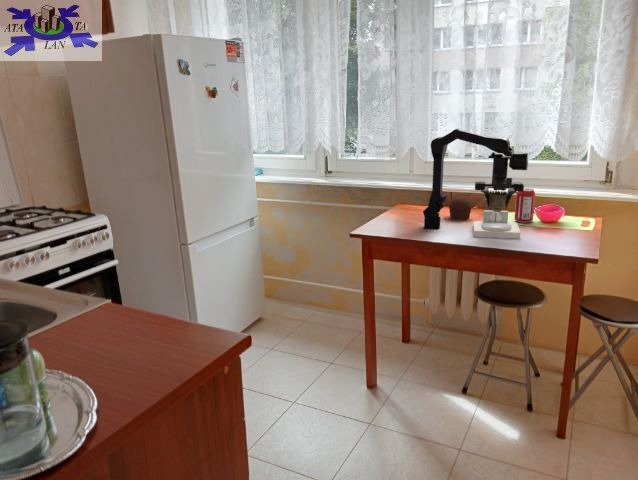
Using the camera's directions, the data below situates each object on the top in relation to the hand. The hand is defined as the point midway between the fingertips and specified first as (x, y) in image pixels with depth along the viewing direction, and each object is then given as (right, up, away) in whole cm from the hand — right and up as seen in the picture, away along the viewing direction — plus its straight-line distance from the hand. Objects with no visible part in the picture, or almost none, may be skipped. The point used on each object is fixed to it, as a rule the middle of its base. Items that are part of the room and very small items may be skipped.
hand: (497, 206), depth 203 cm
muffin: (-7, -3, +30) cm, 31 cm away
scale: (+1, -11, +5) cm, 12 cm away
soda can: (+19, -6, +19) cm, 28 cm away
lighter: (+10, -2, +33) cm, 35 cm away
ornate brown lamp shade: (0, -2, +1) cm, 2 cm away
